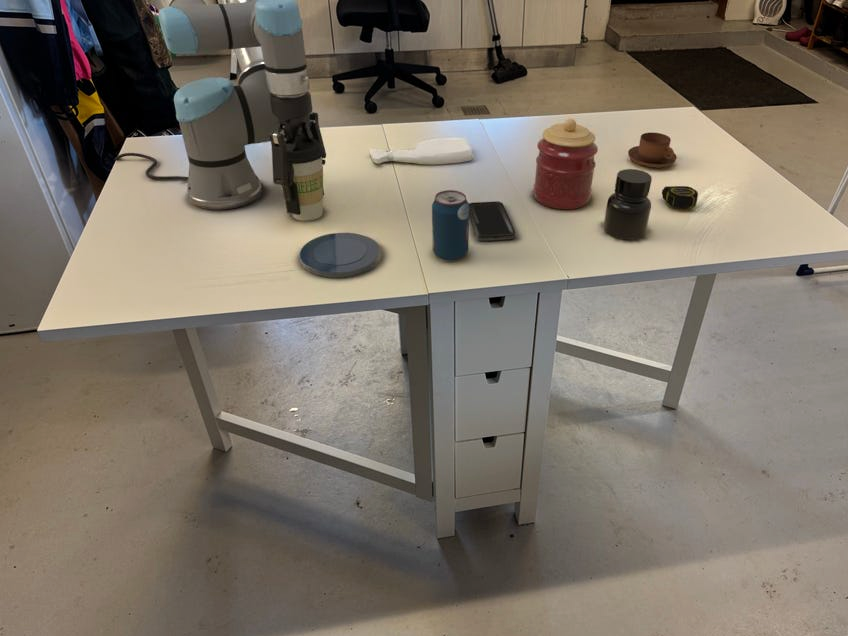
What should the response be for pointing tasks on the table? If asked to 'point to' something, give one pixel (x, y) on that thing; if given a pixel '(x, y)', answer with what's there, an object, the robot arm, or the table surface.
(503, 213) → the phone
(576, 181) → the kitchen canister
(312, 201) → the coffee cup
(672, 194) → the tape measure
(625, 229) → the ink bottle
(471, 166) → the table surface
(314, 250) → the plate
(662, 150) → the cup and saucer
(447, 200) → the soda can
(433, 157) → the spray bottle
